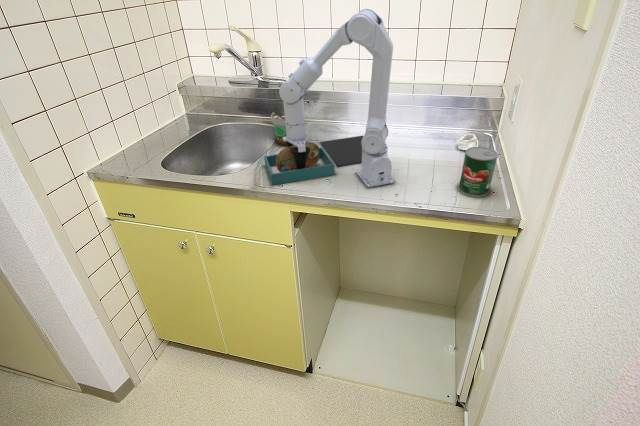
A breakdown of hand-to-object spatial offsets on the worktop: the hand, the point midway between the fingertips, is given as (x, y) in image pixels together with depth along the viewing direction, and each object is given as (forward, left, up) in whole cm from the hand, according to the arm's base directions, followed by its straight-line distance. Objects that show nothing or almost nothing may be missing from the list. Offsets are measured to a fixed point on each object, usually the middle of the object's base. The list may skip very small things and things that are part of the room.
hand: (298, 164), depth 117 cm
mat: (+8, -20, -2) cm, 22 cm away
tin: (0, 0, -2) cm, 2 cm away
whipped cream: (-4, -57, -2) cm, 57 cm away
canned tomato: (-28, -43, -2) cm, 51 cm away
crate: (0, 0, -2) cm, 2 cm away
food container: (+22, 0, -2) cm, 22 cm away
